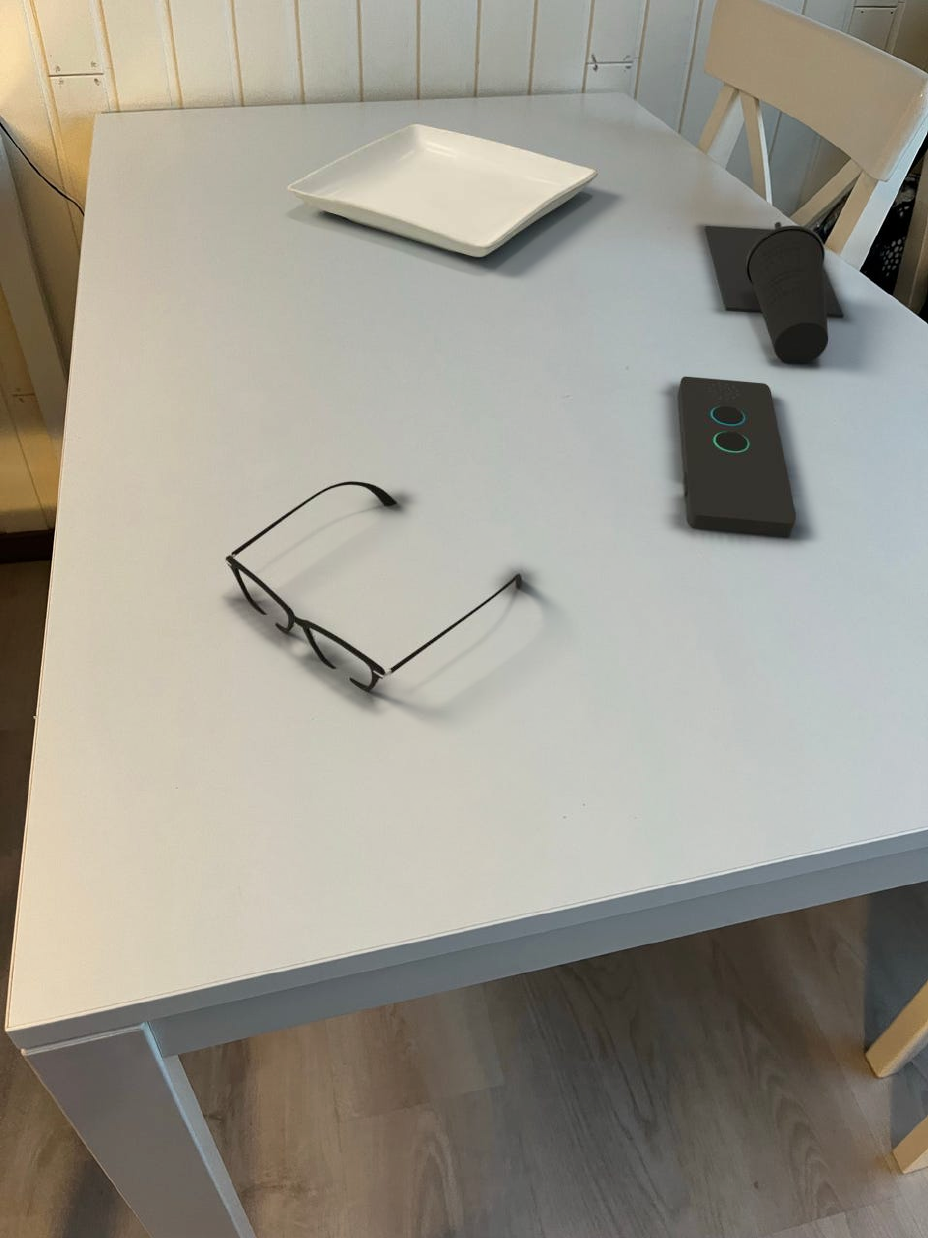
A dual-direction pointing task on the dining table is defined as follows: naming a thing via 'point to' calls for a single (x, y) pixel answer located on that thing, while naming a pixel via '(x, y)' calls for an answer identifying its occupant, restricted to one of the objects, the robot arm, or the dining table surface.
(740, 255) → the mat
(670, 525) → the dining table surface
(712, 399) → the smart home device
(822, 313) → the drinking cup
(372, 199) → the square plate
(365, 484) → the eyeglasses
